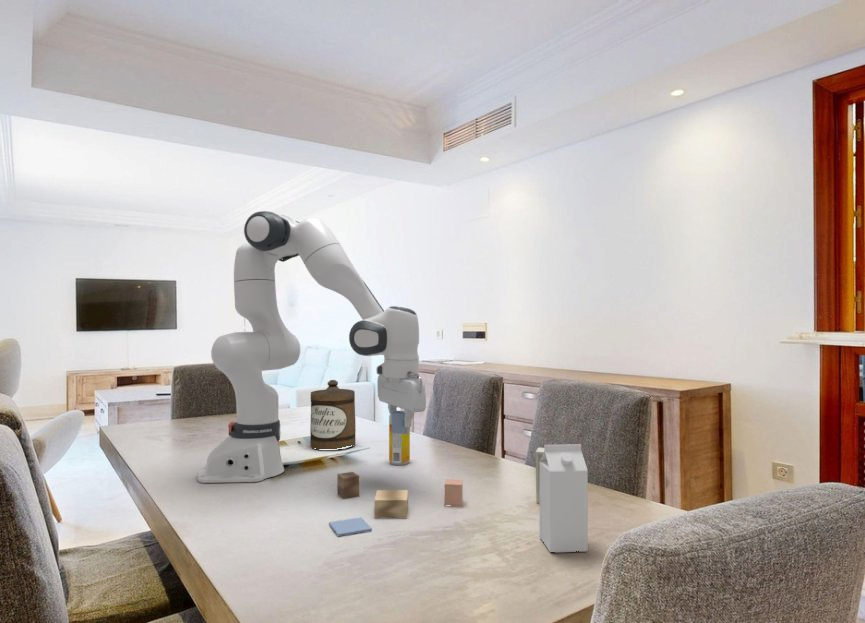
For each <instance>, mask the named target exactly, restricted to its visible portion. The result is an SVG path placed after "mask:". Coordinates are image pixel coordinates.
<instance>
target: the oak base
mask: <svg viewBox="0 0 865 623" xmlns="http://www.w3.org/2000/svg"><path fill="white" fill-rule="evenodd" d="M408 507H409V490H408V489H379V490H378V489H377V490H376V493H375V498H374V518H375V517H407V518H408V512H407V511H408V510H409V508H408Z"/></svg>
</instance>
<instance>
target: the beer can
mask: <svg viewBox="0 0 865 623" xmlns="http://www.w3.org/2000/svg"><path fill="white" fill-rule="evenodd" d="M388 427H389V428H388V461H389V462H390V464H391V465H393V466H405V465H408V464H409V462H410V460H411V446H410V445H411V443H410V440H411V438H410V436H411V434H410V433H411V430H410V429H411V428H410V427H409V432H408V434H398V433H392V421H390V414H389V415H388Z"/></svg>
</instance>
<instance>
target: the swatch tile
mask: <svg viewBox="0 0 865 623" xmlns="http://www.w3.org/2000/svg"><path fill="white" fill-rule="evenodd" d="M329 525H330V526H329ZM328 526H329V527H330V528H331V529H333V530H334V531H335V532H334V531H333V530H332V531H333V532H334V534H335V533H336V534H337V535H338V536H340V537H343V536H342V535H346V536H349V535H348V534H352V535H355V534H354V533H358V534H361V533H360V532H363V533H366V532H365V531H369V532H371V531H370V530H372V531H373V528H372V527H371V526H370V525H369V524H368V523H367V522H366V521H365V519H364V518H362V517H354V518H347V519H342V520H336V521H330V522H329V521H328ZM336 534H335V535H336ZM337 535H336V536H337ZM338 536H337V537H338Z"/></svg>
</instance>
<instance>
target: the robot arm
mask: <svg viewBox="0 0 865 623" xmlns="http://www.w3.org/2000/svg"><path fill="white" fill-rule="evenodd" d="M243 227H244V228H243V234H244V237H245V240H246V241H247V242H246V243H243V244H241V245H240V246H238V248H237V250H236V252H235V256H234V257H235V258H234V263H233V264H234V265H233V292H234V293H233V294H234V308H235V310H236V312H237V314H239V315H240V317H243V318H245V319H246V320H247V321H248V323H249V324H250V325H251V327H252V331H239V332H238V331H237V332H236V331H234V332H232V333H227V334H223V335H220V336H218V337H217V338H216V339H215V340H214V342H213V343H212V344H213V345H212V347H211V351H210V353H211V354H210V356H211V360H212V363H213V365H214V366H215V368H216V369H217V370H218V371H220V372H222V374H224V375H225V376H226V377H227V379H228V380H229V381H230V383H231V385H232V388H233V391H234V394H235V402H236V403H235V404H236V405H235V407H236V421H230V422H229V423H228V437H226V439H224V440H223V441H221V443H219V444H217V445H216V446H215V447H214V448H213V449H212V450H211V451H210V452H209V454H208V457H207V460H206V465H205V467H203V468H200V470H198V472H197V478H196V480H197V481H198V482H199V483H200V484H201V483H203V484H209V483H210V484H215V483H217V484H218V483H256V482H261V481H263V480H265V479H268V478H269V479H270V478H271V477H272V478H273V477H276V476H279V475H281V474H282V473H283V472H284V471H285V467H284V464H283V460H282V455H281V447H280V440H281V421H280V420H279V394H278V391H277V390H276V389H275V388H274V387H272V386H271V385H270V384H266V382H265V381H264V377H263V371H274V370H275V371H276V370H277V371H278V370H282V369H285V368H287V367H291V366H294V365H295V364H296V363H297V361H298V360H299V358H300V355H301V345H300V342H299V339H298V338H297V337H296V335H294V334H293V332H291V331H289V329H288V327H286V324H285V323H284V322H283V320H282V317H281V315H280V313H279V309H278V308H279V306H278V300H277V291H276V290H277V289H276V273H275V272H276V271H275V268H276V264H277V262H278V261H279V262H283V263H284V262H287V261H288V260H291V259H293V258H297V257H300V259H301V261H302V263H303V264H304V266H305V268H306V270H307V271H308V273H309V275H310V276H311V277H312V278H313V280H315V282H316V283H317V284H318V285H320V286H322V287H323V288H325V289H327V290H330V291H332V292H335V293H337V294H339V295H341V296H342V297H344V298H345V299H347V300H348V302H350V303H351V305H352V306H353V308H354V309H355V310H356V312H357V314H358V315H359V316H360V318H361V319H362V320H359V321H357V322H355V323H353V325H352V327H351V328H350V330H349V334H348V339H349V340H348V341H349V344H350V347H351V349H352V351H353V352H354V353H356V354H358V355H360V356H363V357H375V356H384V359H383V361H384V362H382V363H381V364H379V365H377V366H376V374H377V375H378V376H377V385H376V386H377V397H378V400H379V401H380V402H382V403H385V404H387V409H388V412H389V415H390V421H392V413H393V411H398V409H397V408H399V409H403V411H404V413H405V418H404V419H403V426H404V427H412V425H413V424H412V423H413V422H412V420H413V418H414V415H415V413H422V412H425V410H426V408H427V395H426V386H425V383H424V381H423V378H421V375H420V373H419V372H420V370H419V368H420V367H419V365H420V358H419V357H420V356H419V353H418V348H419V344H420V327H419V318H418V314H417V313H416V312H415V311H414V310H413V309H411V308H407V307H402V306H394V305H393V306H389V307H387V308H386V309H384V308H383V307H382V305H381V304H380V303H379V301H378V300H377V298H376V296H375V295H374V293H373V292H372V290H370V288H369V287H368V285H367V283H365V281H364V280H363V279H362V277H361V276H360V273H359V272H358V271H357V269H356V268H355V266H354V265H353V263H352V262H351V260H350V258H349V257H348V255H347V253H346V251H345V250H344V248H343V246H342V245H341V243H340V241H339V240H338V238H337V237H336V236H335V234H334V232H333V231H332V230H331V228H329V226H327V224H326V223H325V222H324V221H323V220H322V219H320V218H318V217H308V218H304V219H303V220H301V221H297V220H294V219H293V218H291V217H290V216H286V215H283V214H279V213H278V214H277V213H275V212H273V211H266V210H264V211H256V212H254V213H252V214H251V215H250V216H249V217H248V218H247V219H246V222H245V224H244V226H243Z"/></svg>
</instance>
